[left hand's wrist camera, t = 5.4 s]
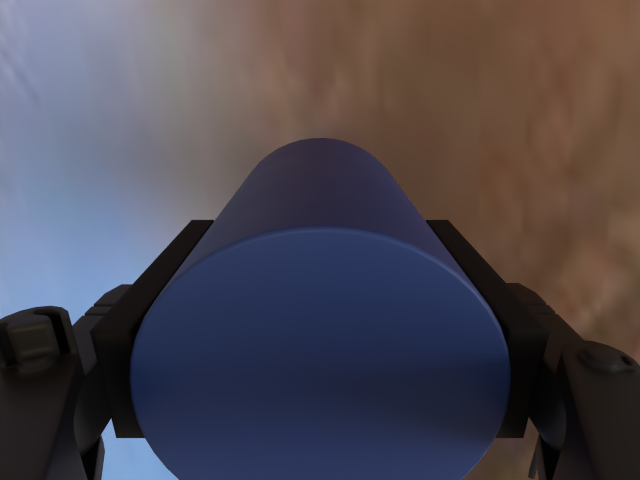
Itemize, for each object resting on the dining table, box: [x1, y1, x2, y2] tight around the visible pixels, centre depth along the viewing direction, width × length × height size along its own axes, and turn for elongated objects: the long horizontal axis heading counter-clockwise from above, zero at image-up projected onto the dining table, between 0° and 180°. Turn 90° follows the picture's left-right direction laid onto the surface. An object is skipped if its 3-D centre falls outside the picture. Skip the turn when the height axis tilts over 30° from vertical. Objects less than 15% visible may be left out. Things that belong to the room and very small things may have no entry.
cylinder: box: [129, 138, 511, 480], centre depth 13 cm, size 7×7×11 cm
